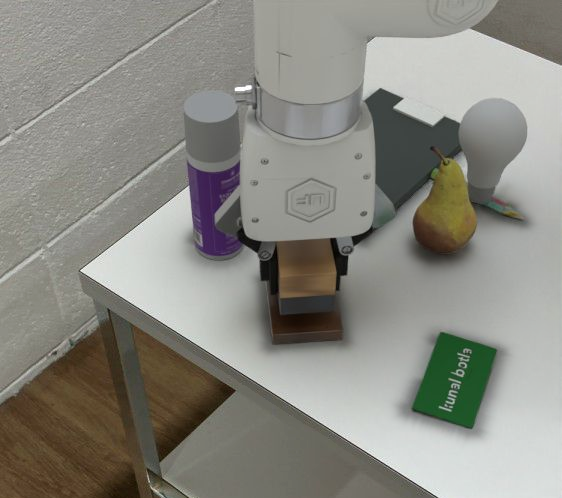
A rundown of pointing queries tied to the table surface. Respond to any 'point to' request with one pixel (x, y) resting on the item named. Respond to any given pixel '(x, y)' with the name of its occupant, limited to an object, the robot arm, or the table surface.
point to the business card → (455, 380)
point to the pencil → (493, 203)
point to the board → (406, 147)
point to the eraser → (306, 276)
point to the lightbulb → (490, 144)
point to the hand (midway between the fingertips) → (302, 279)
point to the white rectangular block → (419, 112)
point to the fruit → (445, 211)
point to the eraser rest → (303, 324)
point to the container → (212, 167)
